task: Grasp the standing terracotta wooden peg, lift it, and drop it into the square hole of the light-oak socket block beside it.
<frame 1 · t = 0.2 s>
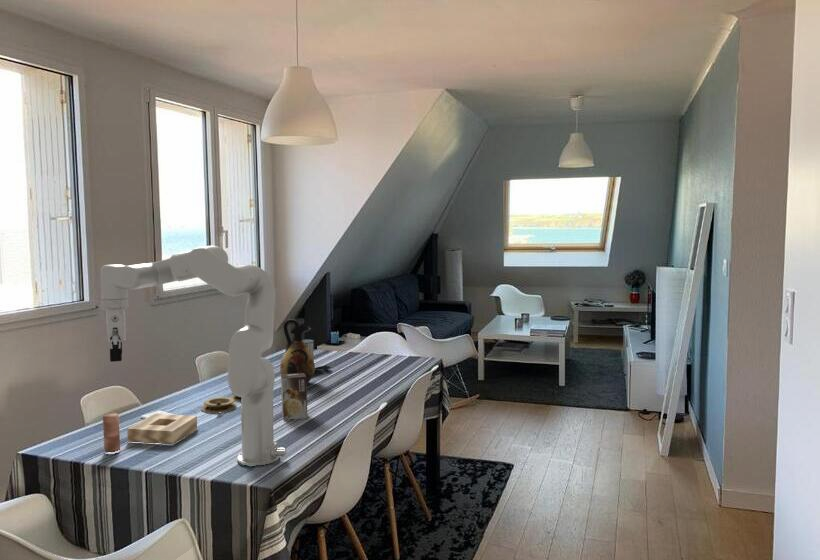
hand: (116, 357, 191), 30 cm above the table, tool pointing down, fingers open, 9 cm apart
milk frother: (312, 371, 300), on the table
coffee box: (294, 417, 228), on the table
peg: (112, 452, 192), on the table
tableware set: (233, 404, 246), on the table
external hard drive: (160, 420, 226), on the table
ceramic jug: (296, 385, 273), on the table
socket block: (163, 436, 207), on the table
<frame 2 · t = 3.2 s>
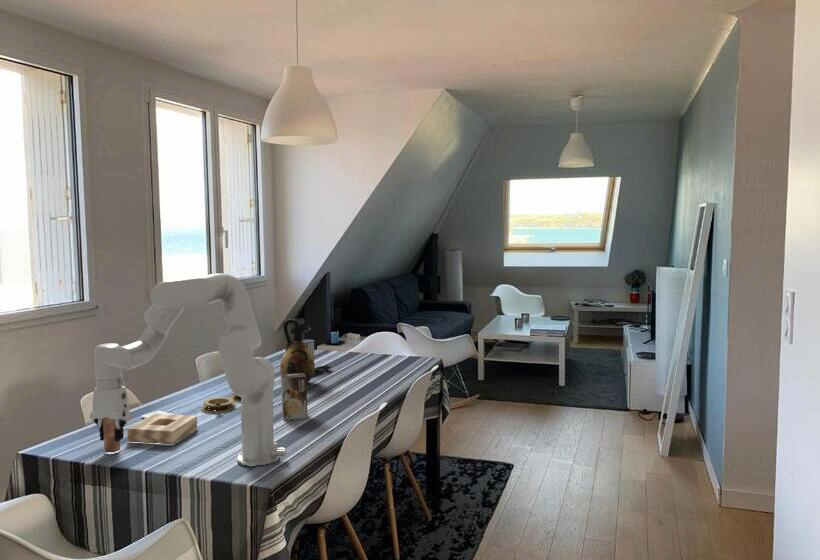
hand: (111, 438, 192), 4 cm above the table, tool pointing down, fingers closed on peg, 4 cm apart
peg: (112, 452, 192), on the table, touching gripper
everything else where it was.
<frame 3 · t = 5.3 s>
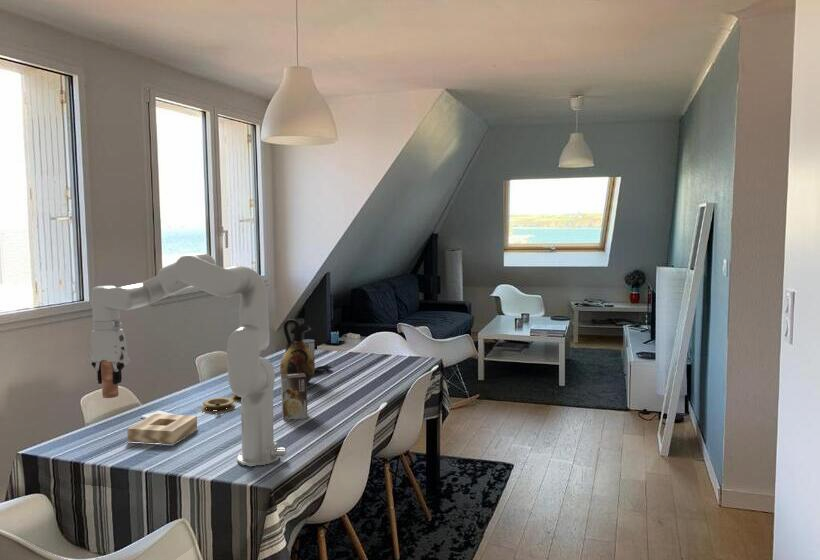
hand: (109, 382, 190), 23 cm above the table, tool pointing down, fingers closed on peg, 4 cm apart
peg: (110, 396, 190), point 18 cm above the table, touching gripper
everything else where it was.
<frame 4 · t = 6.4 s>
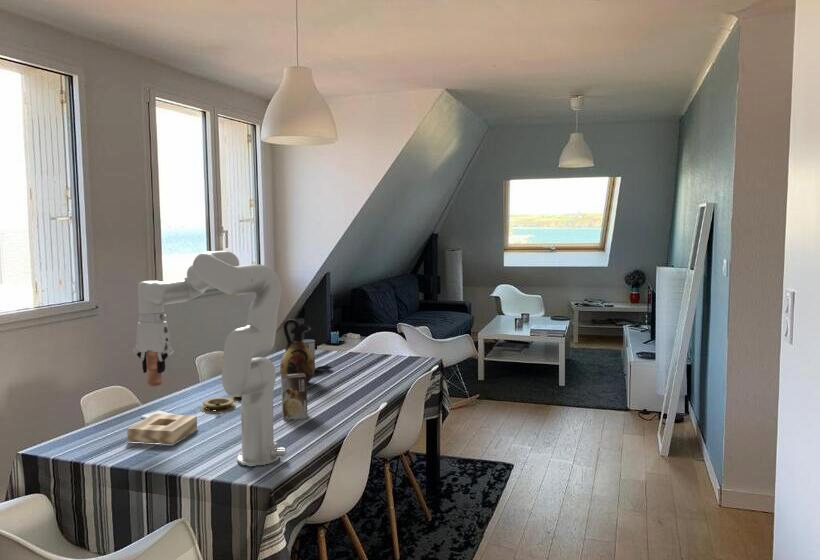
hand: (154, 371, 202), 23 cm above the table, tool pointing down, fingers closed on peg, 4 cm apart
peg: (154, 384, 203), point 19 cm above the table, touching gripper
everything else where it was.
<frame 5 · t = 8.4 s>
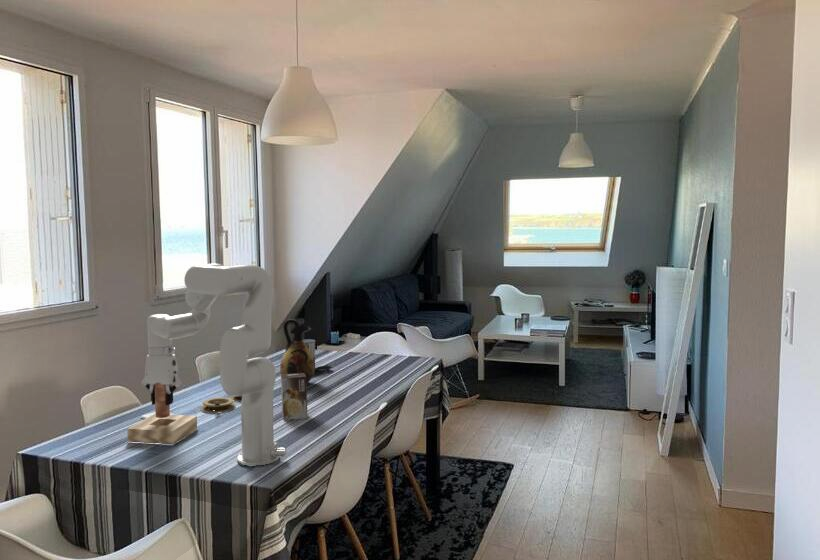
hand: (162, 403, 206), 12 cm above the table, tool pointing down, fingers closed on peg, 4 cm apart
peg: (162, 415, 206), point 7 cm above the table, touching gripper
everything else where it was.
when the fingers open (6 cm above the table, at t = 9.8 s): peg drops 2 cm, resting in socket block.
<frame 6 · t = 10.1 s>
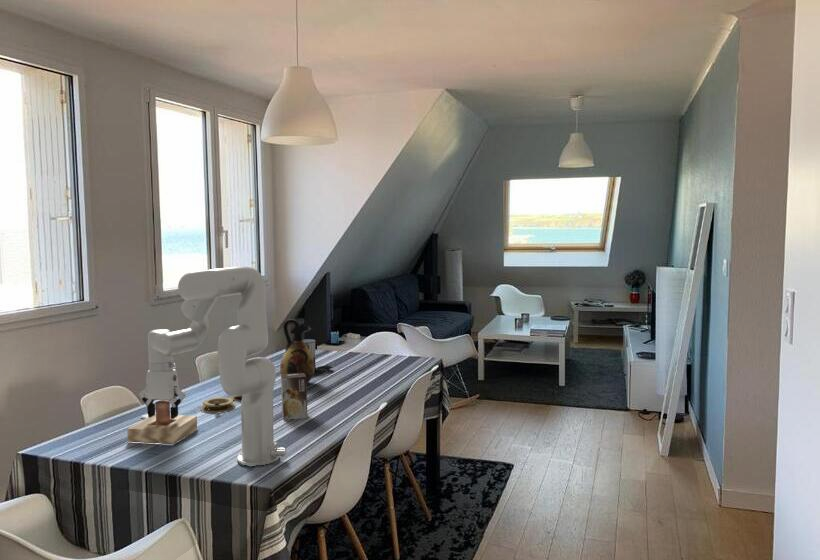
hand: (162, 416, 206), 7 cm above the table, tool pointing down, fingers open, 7 cm apart
peg: (163, 436, 207), resting in socket block
everything else where it was.
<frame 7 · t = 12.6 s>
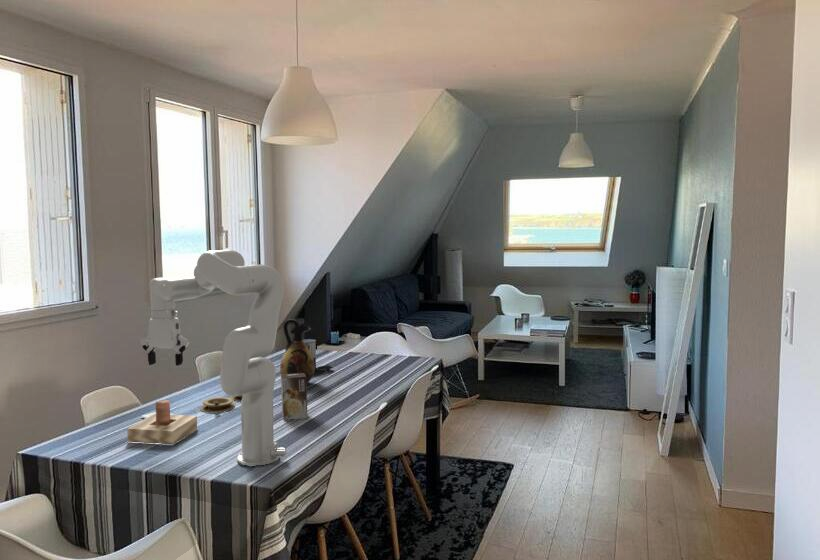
hand: (165, 364, 205), 25 cm above the table, tool pointing down, fingers open, 9 cm apart
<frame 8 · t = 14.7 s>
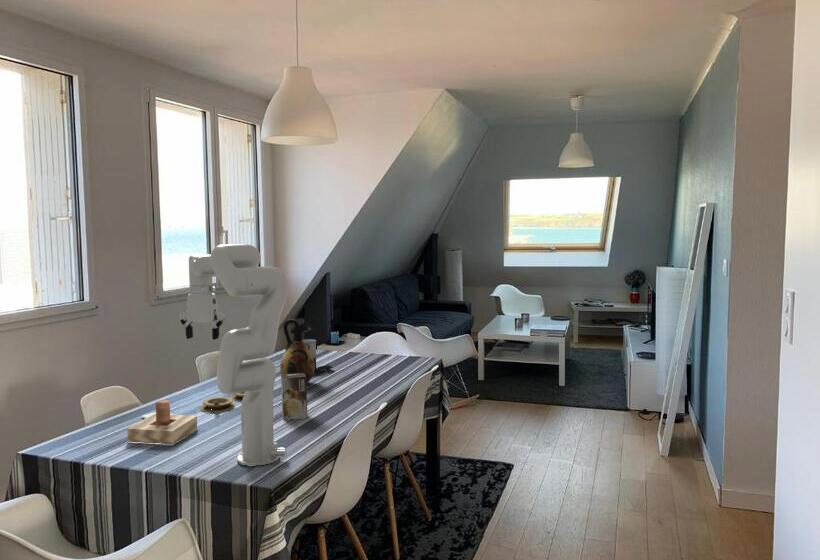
hand: (202, 338, 212), 32 cm above the table, tool pointing down, fingers open, 9 cm apart
at the end: peg 0.0 cm off-centre on the socket block, point 0.0 cm above the socket block's base; peg tilted 0°; the gripper is holding nothing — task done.
